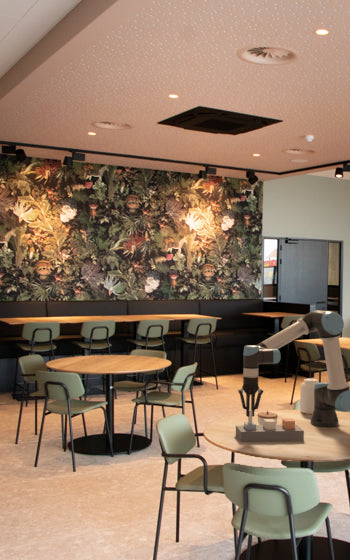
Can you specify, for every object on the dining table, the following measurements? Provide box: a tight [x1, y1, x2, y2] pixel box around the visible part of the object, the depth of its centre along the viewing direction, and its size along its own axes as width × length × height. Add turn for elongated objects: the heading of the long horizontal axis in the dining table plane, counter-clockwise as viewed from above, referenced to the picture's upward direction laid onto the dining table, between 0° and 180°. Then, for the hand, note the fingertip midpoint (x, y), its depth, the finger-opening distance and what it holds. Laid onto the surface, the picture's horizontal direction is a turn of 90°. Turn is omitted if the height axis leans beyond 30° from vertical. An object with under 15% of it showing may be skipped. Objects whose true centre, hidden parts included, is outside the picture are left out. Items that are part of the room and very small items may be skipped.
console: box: [235, 424, 305, 443], centre depth 296 cm, size 32×12×5 cm, turn 97°
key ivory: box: [263, 419, 277, 430], centre depth 296 cm, size 5×5×5 cm
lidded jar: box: [257, 410, 279, 425], centre depth 314 cm, size 11×11×9 cm
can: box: [299, 377, 319, 415], centre depth 354 cm, size 12×12×20 cm
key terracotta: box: [281, 418, 296, 429], centre depth 297 cm, size 5×5×5 cm
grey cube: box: [243, 421, 257, 430], centre depth 295 cm, size 5×5×5 cm
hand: (250, 422), depth 295 cm, fingers closed
